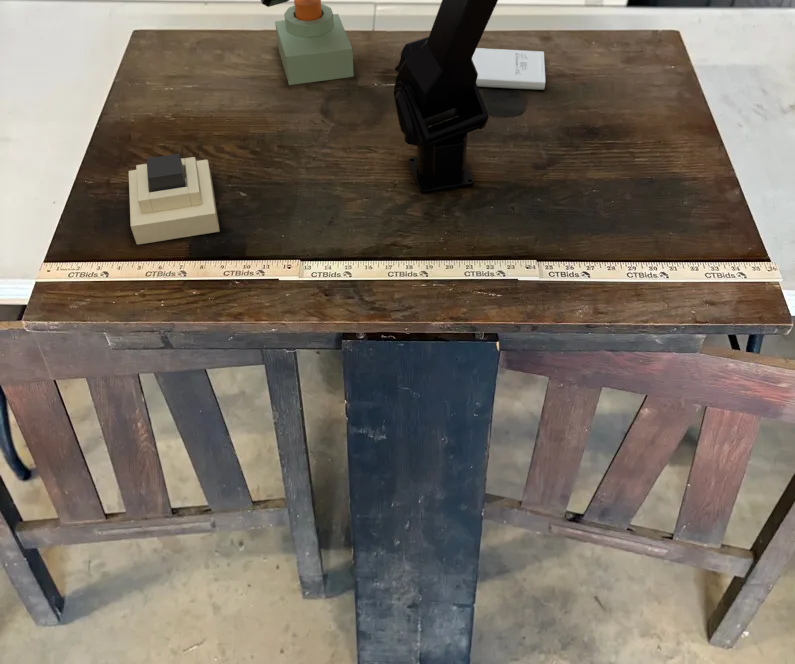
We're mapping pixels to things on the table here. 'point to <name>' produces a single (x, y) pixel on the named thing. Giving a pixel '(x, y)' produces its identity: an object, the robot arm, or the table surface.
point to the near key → (165, 172)
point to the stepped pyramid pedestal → (173, 205)
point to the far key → (308, 9)
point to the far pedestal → (314, 48)
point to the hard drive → (509, 68)
